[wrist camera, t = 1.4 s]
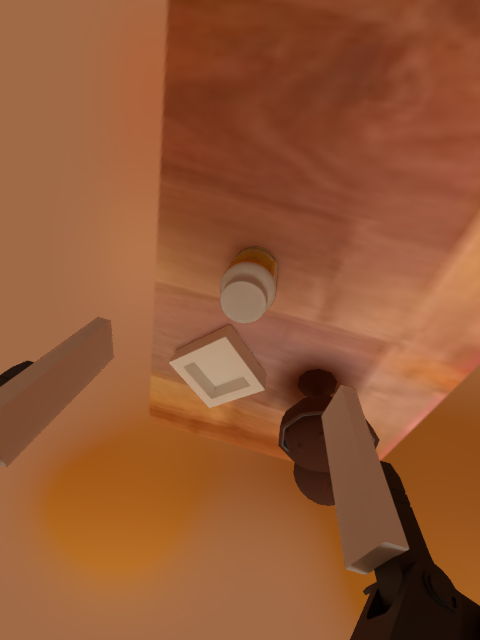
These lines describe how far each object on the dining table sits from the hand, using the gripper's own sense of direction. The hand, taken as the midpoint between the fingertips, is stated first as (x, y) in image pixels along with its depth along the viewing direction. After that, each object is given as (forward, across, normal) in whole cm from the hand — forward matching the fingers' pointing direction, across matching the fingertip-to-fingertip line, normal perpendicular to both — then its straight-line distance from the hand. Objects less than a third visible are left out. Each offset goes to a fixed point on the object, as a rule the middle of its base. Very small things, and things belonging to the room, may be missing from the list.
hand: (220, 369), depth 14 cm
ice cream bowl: (+18, +13, -14) cm, 26 cm away
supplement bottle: (+18, 0, 0) cm, 18 cm away
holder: (+18, -1, -15) cm, 23 cm away
